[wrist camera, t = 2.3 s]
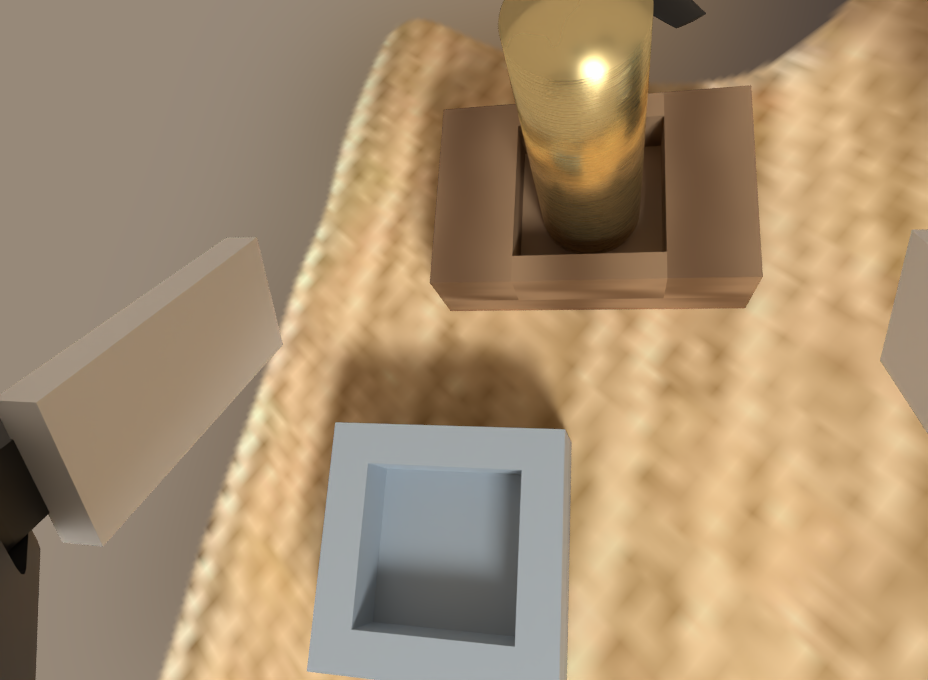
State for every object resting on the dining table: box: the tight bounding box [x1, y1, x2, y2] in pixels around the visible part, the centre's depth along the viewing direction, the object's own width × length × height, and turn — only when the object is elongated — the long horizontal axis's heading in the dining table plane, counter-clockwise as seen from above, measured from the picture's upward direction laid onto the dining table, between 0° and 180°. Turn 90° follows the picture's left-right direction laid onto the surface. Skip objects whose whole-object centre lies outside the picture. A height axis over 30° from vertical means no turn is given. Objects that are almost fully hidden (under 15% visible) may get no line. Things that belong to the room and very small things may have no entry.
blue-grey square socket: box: [307, 422, 571, 680], centre depth 29 cm, size 10×10×4 cm
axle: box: [498, 0, 653, 254], centre depth 26 cm, size 5×5×13 cm
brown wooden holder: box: [430, 85, 763, 311], centre depth 32 cm, size 14×9×4 cm, turn 87°
